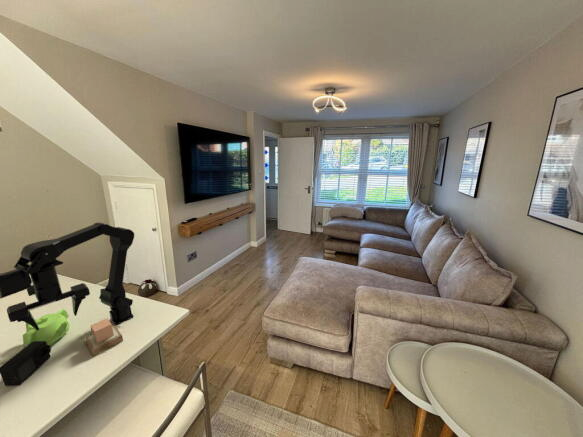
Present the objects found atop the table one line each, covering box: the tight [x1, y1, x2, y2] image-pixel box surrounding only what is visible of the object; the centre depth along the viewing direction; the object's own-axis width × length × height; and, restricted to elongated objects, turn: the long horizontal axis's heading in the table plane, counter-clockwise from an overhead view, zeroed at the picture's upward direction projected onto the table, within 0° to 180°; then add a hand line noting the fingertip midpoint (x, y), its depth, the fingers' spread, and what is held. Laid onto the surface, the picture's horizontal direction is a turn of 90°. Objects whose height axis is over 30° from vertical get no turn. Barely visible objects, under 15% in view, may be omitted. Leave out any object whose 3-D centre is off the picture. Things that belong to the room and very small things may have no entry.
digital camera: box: [0, 341, 52, 387], centre depth 76 cm, size 10×5×7 cm, turn 3°
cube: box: [90, 318, 114, 343], centre depth 87 cm, size 5×5×5 cm
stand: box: [84, 323, 124, 357], centre depth 88 cm, size 9×9×3 cm
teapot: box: [22, 308, 71, 347], centre depth 88 cm, size 12×12×10 cm
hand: (57, 322), depth 81 cm, fingers open, 9 cm apart
